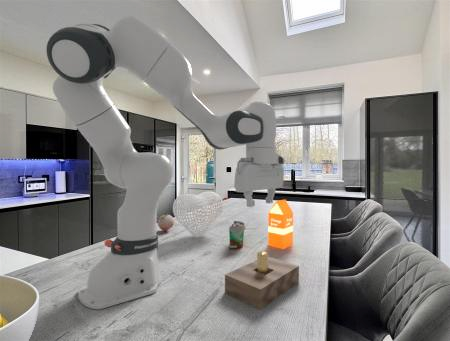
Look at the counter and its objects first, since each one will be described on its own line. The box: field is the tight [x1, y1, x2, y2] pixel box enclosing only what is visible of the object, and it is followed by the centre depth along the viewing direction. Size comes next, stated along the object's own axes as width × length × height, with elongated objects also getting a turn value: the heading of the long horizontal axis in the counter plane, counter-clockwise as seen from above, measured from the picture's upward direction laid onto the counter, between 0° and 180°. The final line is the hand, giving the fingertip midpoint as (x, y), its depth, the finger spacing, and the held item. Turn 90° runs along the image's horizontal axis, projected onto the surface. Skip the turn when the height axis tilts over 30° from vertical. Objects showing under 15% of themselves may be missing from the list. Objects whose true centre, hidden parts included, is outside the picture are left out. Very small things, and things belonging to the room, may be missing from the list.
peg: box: [256, 251, 269, 275], centre depth 72 cm, size 3×3×10 cm
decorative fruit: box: [157, 212, 175, 232], centre depth 133 cm, size 9×8×10 cm
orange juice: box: [267, 199, 294, 250], centre depth 112 cm, size 8×9×20 cm
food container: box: [228, 220, 246, 251], centre depth 109 cm, size 12×6×10 cm, turn 168°
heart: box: [172, 190, 224, 239], centre depth 122 cm, size 28×16×22 cm, turn 140°
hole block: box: [224, 256, 300, 310], centre depth 72 cm, size 20×12×5 cm, turn 137°
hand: (260, 204), depth 74 cm, fingers open, 8 cm apart
